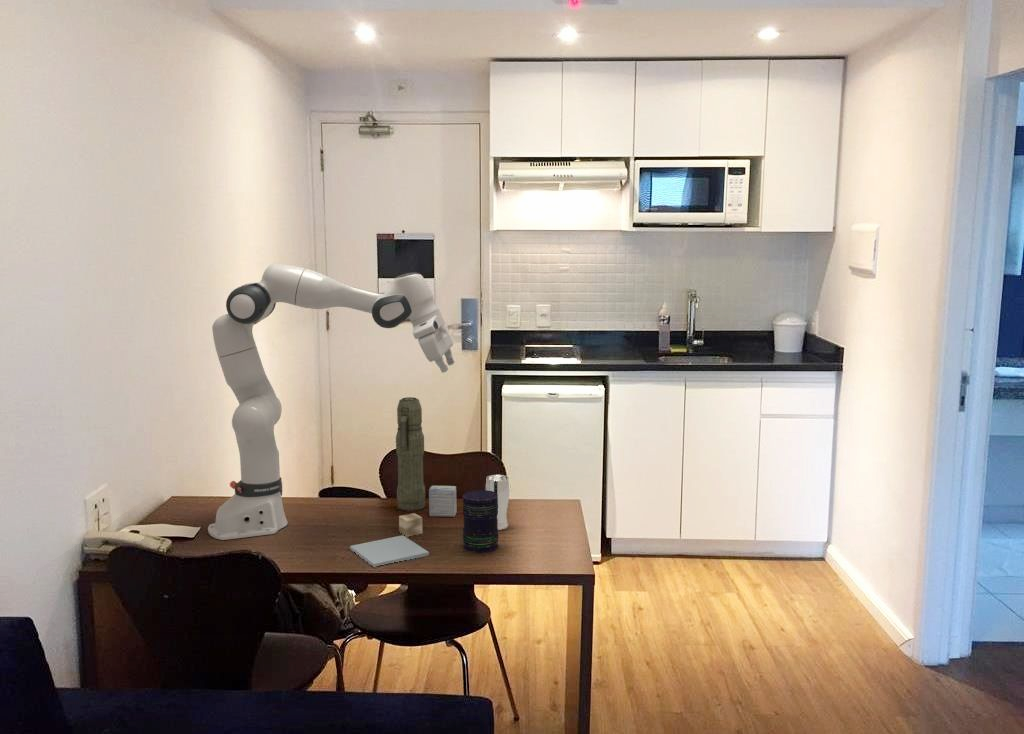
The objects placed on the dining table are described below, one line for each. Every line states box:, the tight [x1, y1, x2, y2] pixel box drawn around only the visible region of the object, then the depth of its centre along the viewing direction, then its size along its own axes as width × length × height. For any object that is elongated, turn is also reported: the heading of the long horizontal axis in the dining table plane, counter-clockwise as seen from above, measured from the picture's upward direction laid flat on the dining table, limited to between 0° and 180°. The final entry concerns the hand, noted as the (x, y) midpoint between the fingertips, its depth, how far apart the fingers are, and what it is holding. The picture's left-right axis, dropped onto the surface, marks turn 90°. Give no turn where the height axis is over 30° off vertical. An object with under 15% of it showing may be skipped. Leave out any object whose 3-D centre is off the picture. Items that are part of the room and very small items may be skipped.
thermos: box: [395, 396, 426, 511], centre depth 277 cm, size 9×12×35 cm
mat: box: [349, 534, 430, 568], centre depth 240 cm, size 16×16×1 cm
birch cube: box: [398, 512, 424, 538], centre depth 255 cm, size 5×5×5 cm
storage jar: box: [462, 489, 499, 554], centre depth 243 cm, size 10×10×15 cm
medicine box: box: [428, 485, 458, 517], centre depth 272 cm, size 8×4×9 cm, turn 84°
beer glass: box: [485, 474, 510, 531], centre depth 260 cm, size 7×7×15 cm
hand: (448, 367), depth 257 cm, fingers open, 8 cm apart
